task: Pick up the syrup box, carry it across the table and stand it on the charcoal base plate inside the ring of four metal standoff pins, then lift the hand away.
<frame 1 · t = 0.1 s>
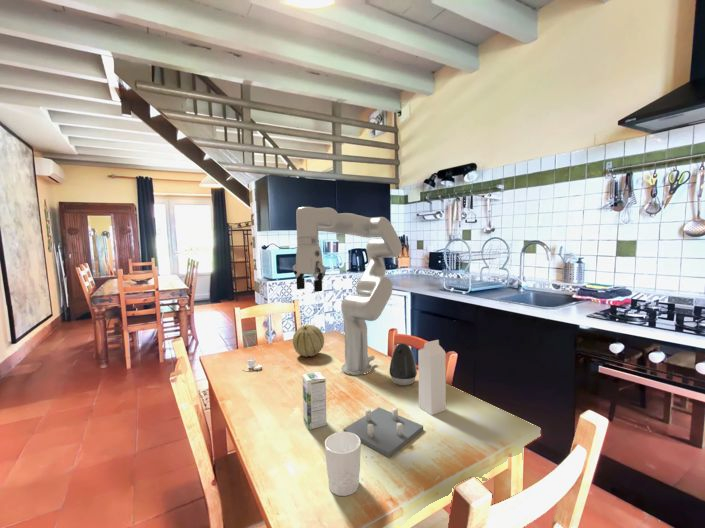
hand: (309, 290, 118), 37 cm above the table, tool pointing down, fingers open, 9 cm apart
milk: (432, 409, 105), on the table
standoff base: (383, 431, 93), on the table
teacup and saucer: (249, 372, 140), on the table
white cup: (343, 485, 73), on the table
syrup box: (315, 423, 98), on the table
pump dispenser: (403, 383, 125), on the table
cantaloupe: (308, 356, 157), on the table
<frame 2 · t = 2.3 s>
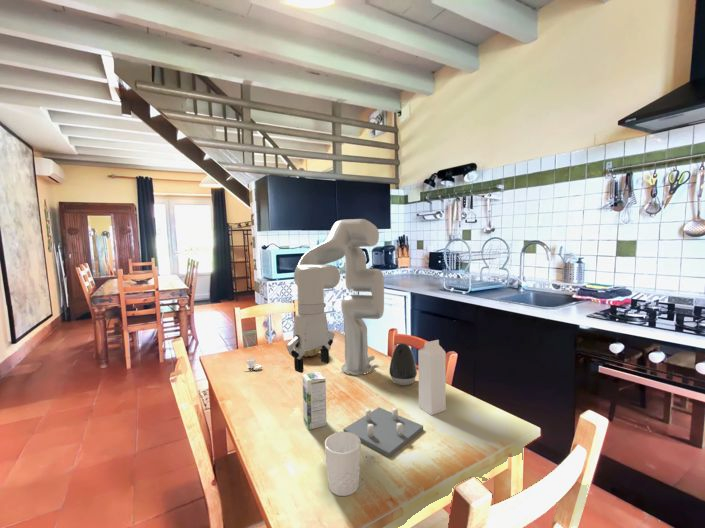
hand: (312, 366, 97), 17 cm above the table, tool pointing down, fingers open, 9 cm apart
nothing on the table moved.
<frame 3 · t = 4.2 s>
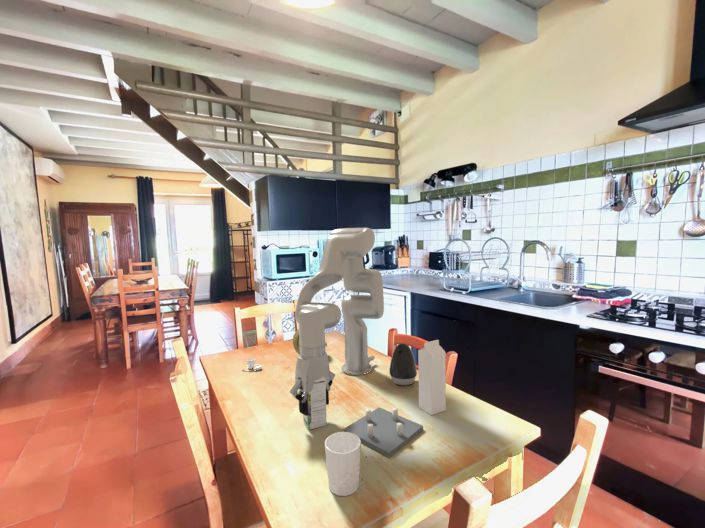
hand: (314, 408, 98), 5 cm above the table, tool pointing down, fingers closed on syrup box, 7 cm apart
syrup box: (315, 423, 98), on the table, touching gripper
everything else where it was.
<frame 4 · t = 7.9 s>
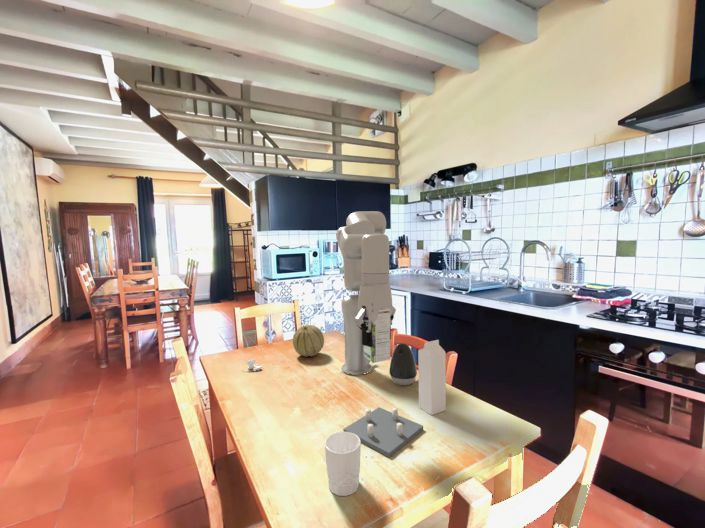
hand: (376, 341, 92), 26 cm above the table, tool pointing down, fingers closed on syrup box, 7 cm apart
syrup box: (377, 358, 92), point 21 cm above the table, touching gripper
everything else where it was.
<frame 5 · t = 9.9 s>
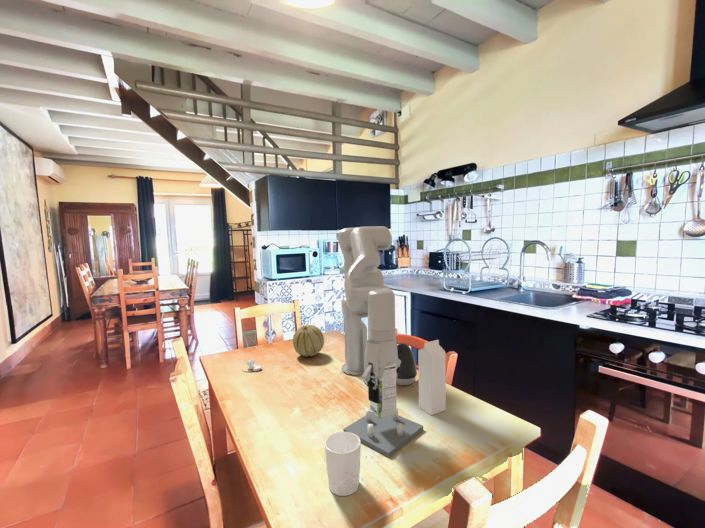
hand: (382, 395, 92), 10 cm above the table, tool pointing down, fingers closed on syrup box, 7 cm apart
syrup box: (383, 412, 93), point 6 cm above the table, touching gripper
everything else where it was.
when the fingers open (7 cm above the table, at t = 11.5 s): syrup box drops 1 cm, resting on standoff base.
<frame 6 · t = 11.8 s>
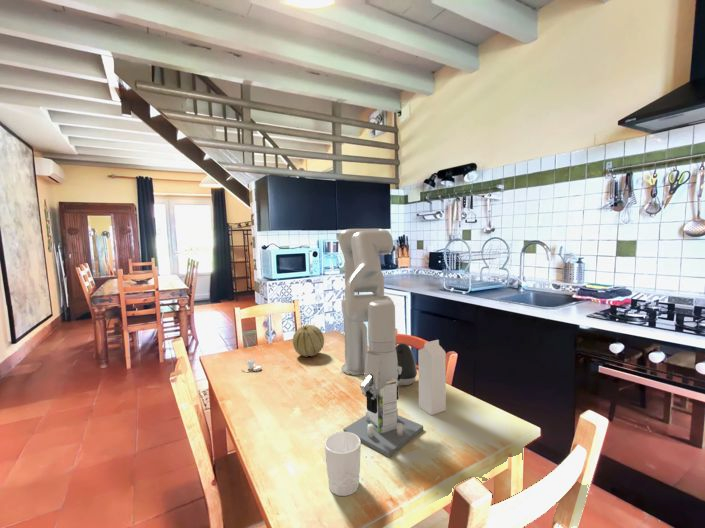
hand: (383, 404, 93), 8 cm above the table, tool pointing down, fingers open, 9 cm apart
syrup box: (383, 427, 93), point 1 cm above the table, touching standoff base
everything else where it was.
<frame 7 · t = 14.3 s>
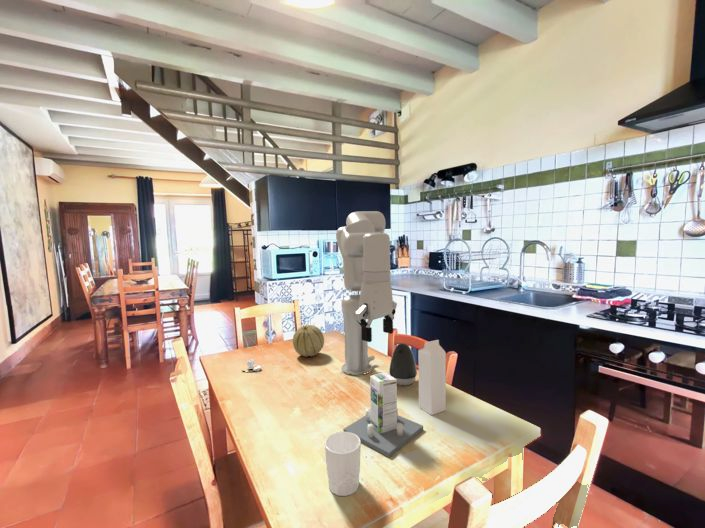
hand: (377, 336, 94), 27 cm above the table, tool pointing down, fingers open, 9 cm apart
nothing on the table moved.
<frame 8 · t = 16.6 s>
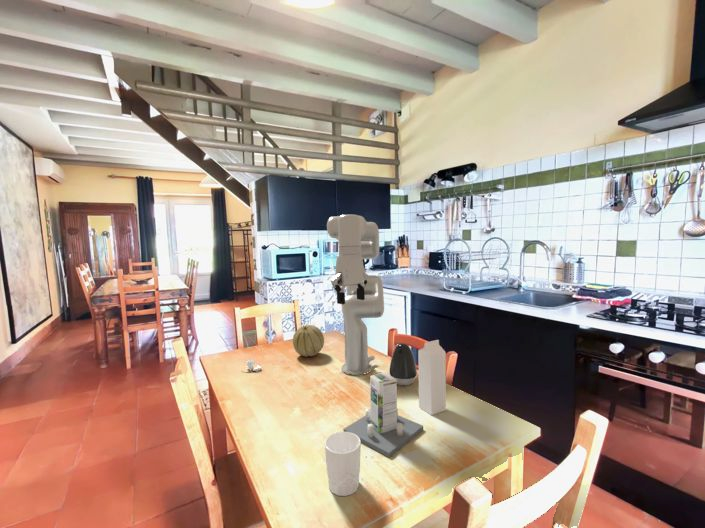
hand: (351, 301, 112), 33 cm above the table, tool pointing down, fingers open, 9 cm apart
at the end: syrup box 0.3 cm off-centre on the standoff base, point 1.0 cm above the standoff base's base; syrup box tilted 0°; the gripper is holding nothing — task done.
